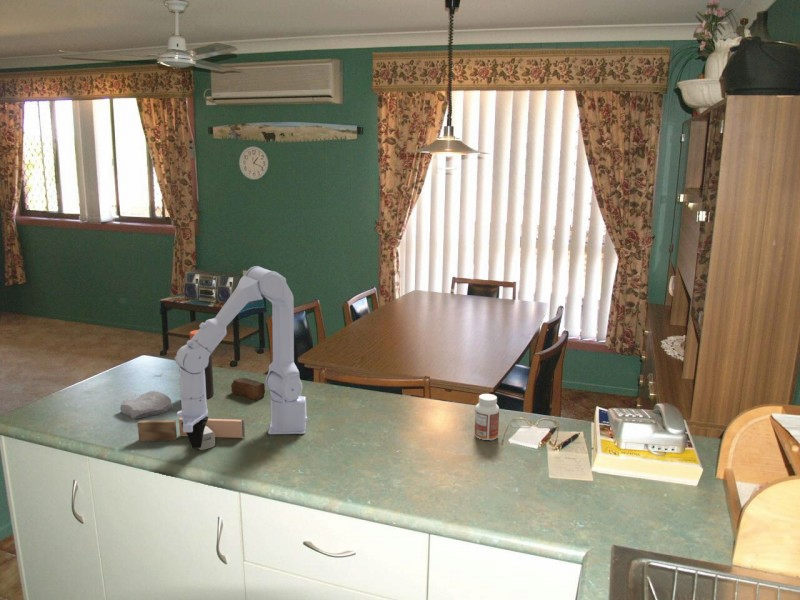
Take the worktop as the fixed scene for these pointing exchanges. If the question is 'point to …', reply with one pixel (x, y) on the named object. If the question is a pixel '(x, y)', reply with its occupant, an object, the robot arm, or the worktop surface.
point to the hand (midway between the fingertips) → (196, 447)
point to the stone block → (146, 405)
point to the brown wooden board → (157, 430)
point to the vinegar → (207, 373)
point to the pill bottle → (487, 417)
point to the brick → (248, 388)
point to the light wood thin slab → (222, 428)
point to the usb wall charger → (208, 439)
